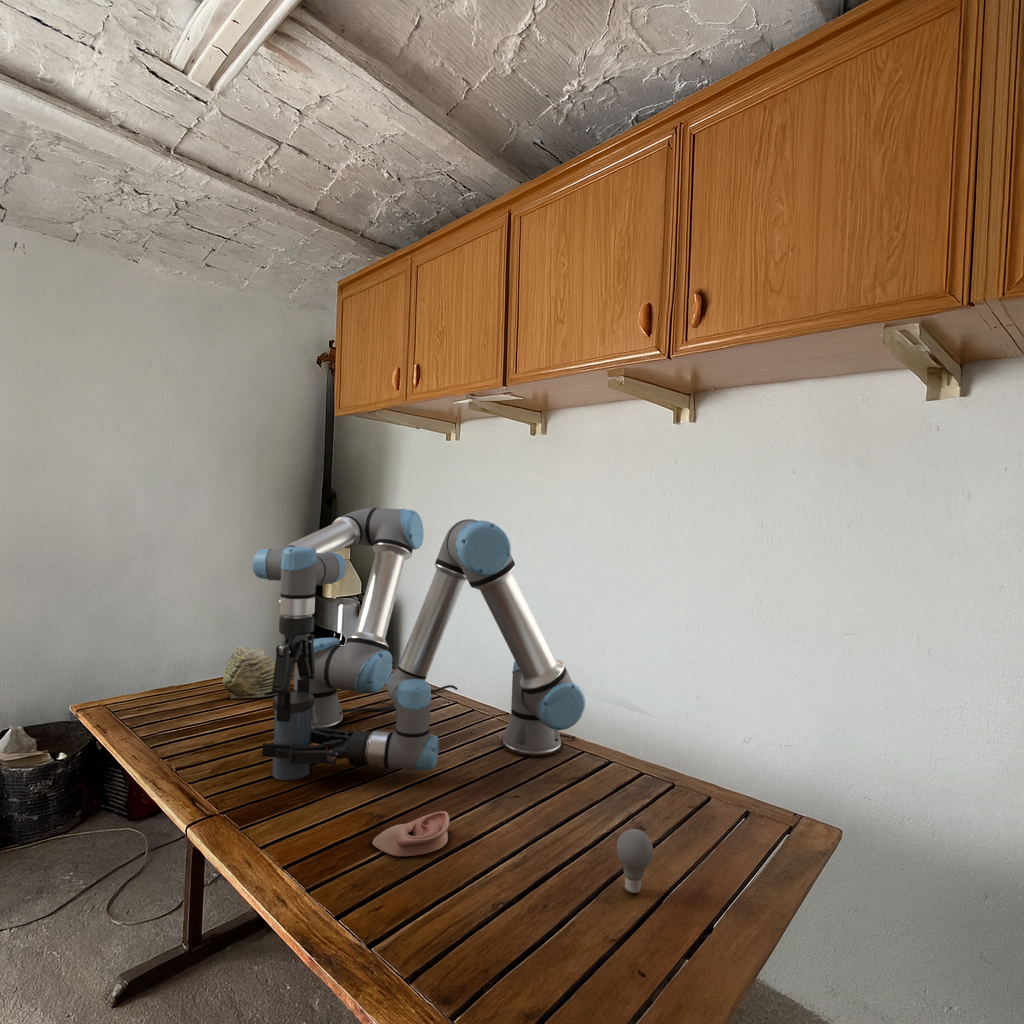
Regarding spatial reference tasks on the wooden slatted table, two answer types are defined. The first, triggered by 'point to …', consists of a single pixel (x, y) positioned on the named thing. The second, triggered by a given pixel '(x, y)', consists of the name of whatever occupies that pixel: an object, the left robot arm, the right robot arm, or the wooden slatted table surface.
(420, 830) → the anatomical model
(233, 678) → the fossil
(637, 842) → the light bulb
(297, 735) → the jar
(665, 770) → the wooden slatted table surface
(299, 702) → the lid
